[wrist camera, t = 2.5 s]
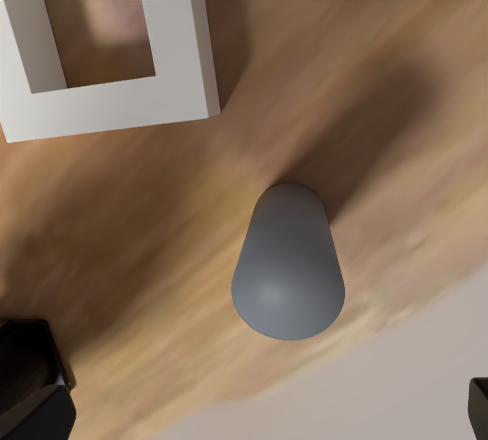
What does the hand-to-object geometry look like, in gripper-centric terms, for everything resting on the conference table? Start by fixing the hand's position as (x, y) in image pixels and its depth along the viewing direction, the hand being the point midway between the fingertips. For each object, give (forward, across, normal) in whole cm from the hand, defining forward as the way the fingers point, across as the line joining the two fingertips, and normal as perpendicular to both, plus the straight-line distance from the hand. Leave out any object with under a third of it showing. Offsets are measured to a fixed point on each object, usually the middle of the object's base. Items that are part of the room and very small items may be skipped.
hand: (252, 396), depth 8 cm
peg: (+13, 0, +1) cm, 13 cm away
